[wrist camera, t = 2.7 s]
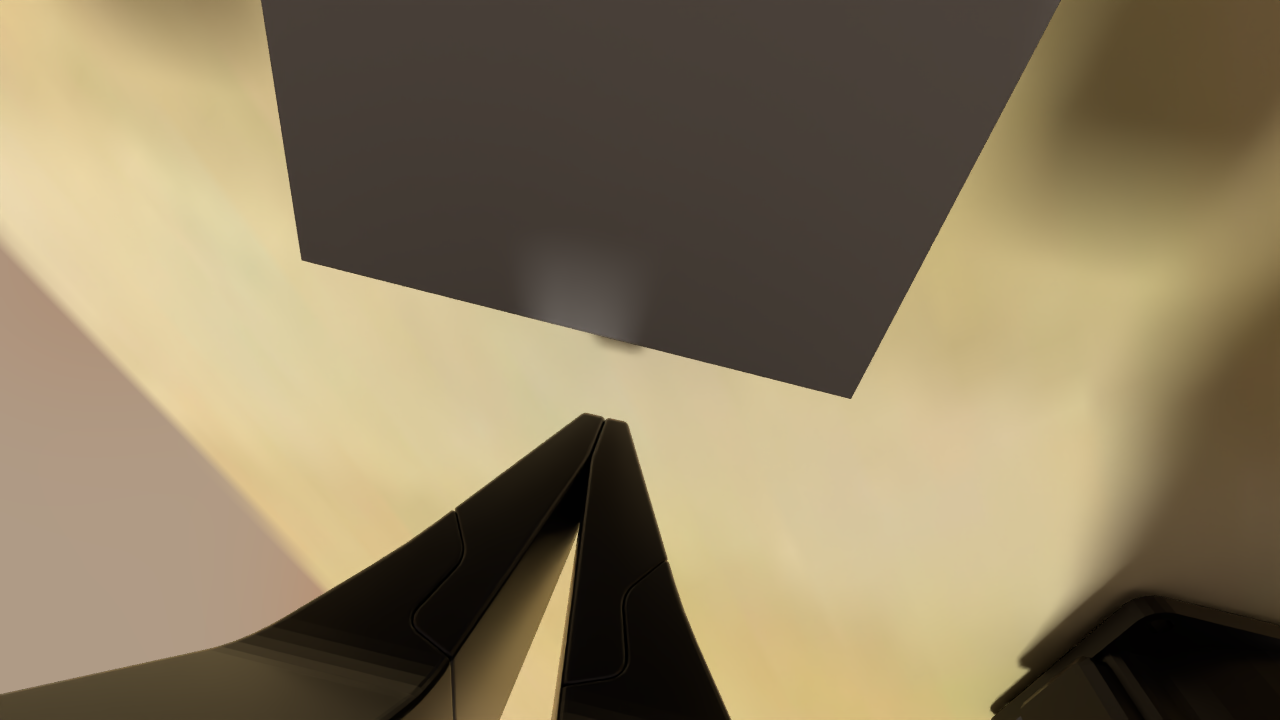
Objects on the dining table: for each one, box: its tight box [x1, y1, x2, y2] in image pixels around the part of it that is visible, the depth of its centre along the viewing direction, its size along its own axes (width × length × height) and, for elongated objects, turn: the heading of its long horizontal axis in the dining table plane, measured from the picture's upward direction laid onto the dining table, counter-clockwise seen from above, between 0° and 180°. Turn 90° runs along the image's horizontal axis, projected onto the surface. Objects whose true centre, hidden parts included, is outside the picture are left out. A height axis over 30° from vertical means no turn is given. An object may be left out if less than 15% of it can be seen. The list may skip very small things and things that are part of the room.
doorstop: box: [261, 0, 1061, 399], centre depth 6 cm, size 6×6×4 cm
